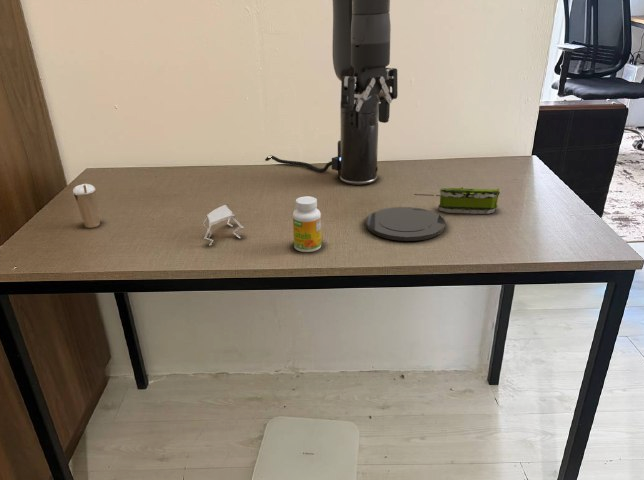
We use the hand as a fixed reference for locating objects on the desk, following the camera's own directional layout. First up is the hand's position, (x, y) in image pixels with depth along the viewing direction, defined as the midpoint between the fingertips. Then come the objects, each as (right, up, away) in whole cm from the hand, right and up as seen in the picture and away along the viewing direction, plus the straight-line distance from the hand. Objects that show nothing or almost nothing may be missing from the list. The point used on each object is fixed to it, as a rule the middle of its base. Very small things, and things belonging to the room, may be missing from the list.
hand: (369, 126), depth 117 cm
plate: (+8, -20, +2) cm, 22 cm away
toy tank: (+20, -16, +10) cm, 27 cm away
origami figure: (-30, -22, +2) cm, 37 cm away
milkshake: (-60, -20, +8) cm, 64 cm away
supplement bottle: (-13, -26, -5) cm, 29 cm away
